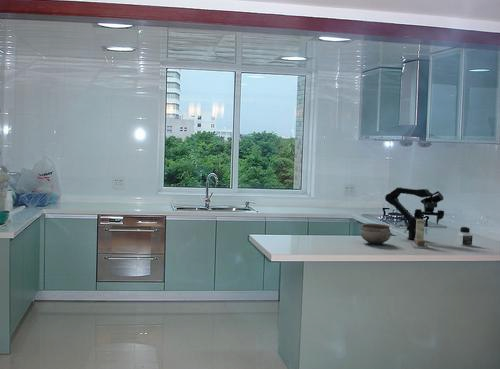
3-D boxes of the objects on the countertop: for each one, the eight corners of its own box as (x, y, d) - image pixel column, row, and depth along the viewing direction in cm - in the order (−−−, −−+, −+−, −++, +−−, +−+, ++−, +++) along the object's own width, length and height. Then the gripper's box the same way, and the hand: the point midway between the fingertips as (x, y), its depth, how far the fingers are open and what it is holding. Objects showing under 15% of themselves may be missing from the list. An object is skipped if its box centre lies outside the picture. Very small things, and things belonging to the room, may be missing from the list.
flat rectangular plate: (409, 243, 396) (410, 237, 396) (423, 244, 395) (424, 238, 395) (413, 248, 376) (414, 241, 376) (428, 248, 375) (429, 242, 375)
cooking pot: (350, 242, 390) (351, 223, 389) (369, 240, 402) (370, 222, 401) (381, 248, 370) (382, 228, 370) (400, 245, 383) (401, 226, 382)
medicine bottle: (462, 245, 395) (463, 227, 394) (456, 244, 402) (457, 226, 401) (472, 245, 397) (473, 227, 396) (465, 244, 404) (467, 226, 403)
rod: (415, 239, 388) (416, 219, 387) (422, 239, 387) (423, 219, 386) (416, 240, 383) (417, 219, 383) (423, 240, 383) (424, 220, 382)
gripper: (415, 197, 401) (417, 215, 390) (444, 198, 398) (446, 216, 388) (413, 207, 409) (414, 225, 399) (441, 209, 407) (443, 227, 396)
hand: (430, 223), depth 395 cm, fingers open, 9 cm apart
